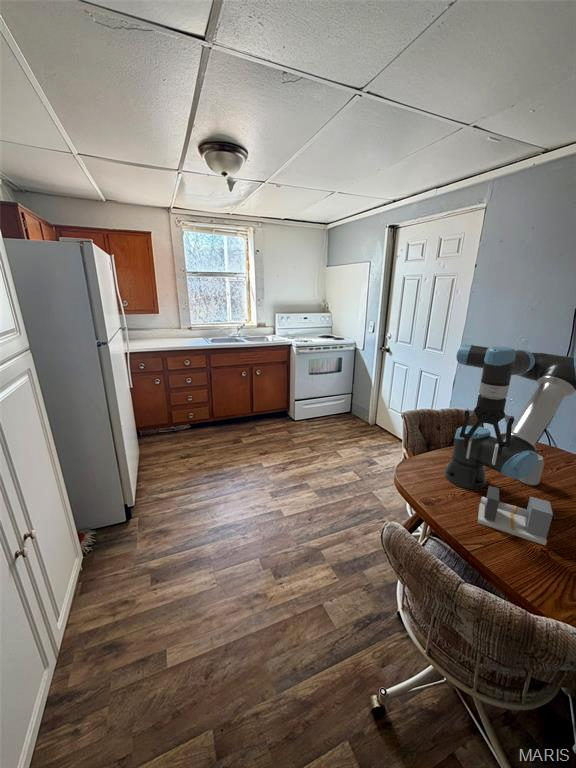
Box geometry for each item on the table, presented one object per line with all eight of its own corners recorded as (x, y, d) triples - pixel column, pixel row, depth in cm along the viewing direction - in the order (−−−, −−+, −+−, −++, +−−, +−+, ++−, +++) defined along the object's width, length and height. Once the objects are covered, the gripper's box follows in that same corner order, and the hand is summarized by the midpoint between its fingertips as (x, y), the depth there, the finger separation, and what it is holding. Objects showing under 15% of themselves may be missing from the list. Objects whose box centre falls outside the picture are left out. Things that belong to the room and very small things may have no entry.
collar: (484, 517, 102) (488, 497, 100) (484, 504, 109) (488, 485, 106) (494, 521, 101) (499, 501, 98) (494, 507, 107) (499, 488, 105)
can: (511, 476, 129) (517, 451, 125) (528, 475, 129) (534, 450, 126) (526, 487, 121) (533, 460, 118) (543, 486, 122) (550, 459, 119)
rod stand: (477, 522, 103) (483, 496, 100) (479, 506, 111) (484, 481, 108) (545, 545, 93) (553, 517, 90) (541, 525, 101) (549, 499, 98)
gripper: (456, 393, 98) (446, 456, 105) (532, 405, 88) (516, 474, 94) (458, 388, 104) (449, 447, 111) (530, 397, 94) (515, 463, 100)
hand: (480, 459), depth 102 cm, fingers open, 7 cm apart
